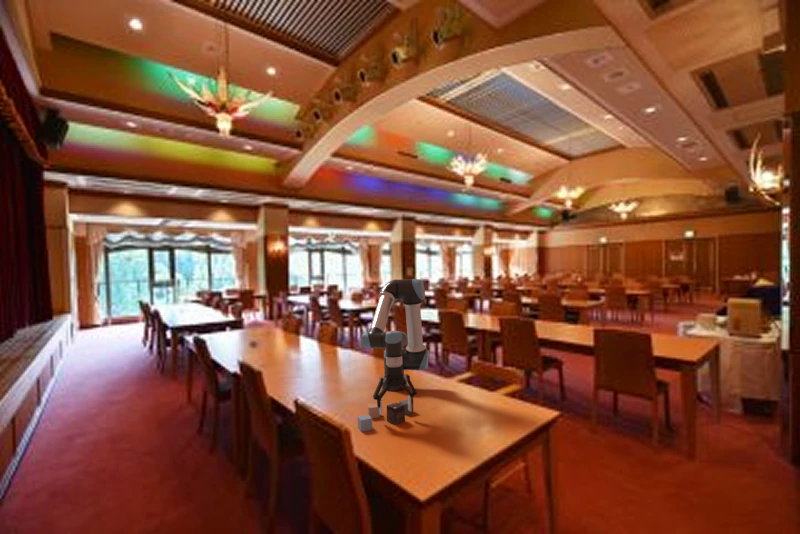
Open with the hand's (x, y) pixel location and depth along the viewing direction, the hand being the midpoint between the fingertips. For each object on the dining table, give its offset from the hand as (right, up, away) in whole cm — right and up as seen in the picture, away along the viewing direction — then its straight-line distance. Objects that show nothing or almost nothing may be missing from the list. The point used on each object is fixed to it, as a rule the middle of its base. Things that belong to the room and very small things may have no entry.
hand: (395, 412), depth 173 cm
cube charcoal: (+5, -4, +11) cm, 13 cm away
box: (0, -4, 0) cm, 4 cm away
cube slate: (-13, -4, -7) cm, 16 cm away
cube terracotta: (-10, -5, +8) cm, 14 cm away
